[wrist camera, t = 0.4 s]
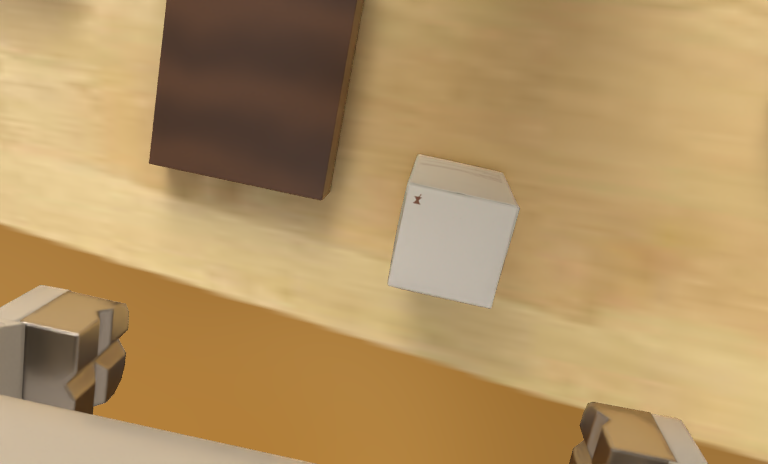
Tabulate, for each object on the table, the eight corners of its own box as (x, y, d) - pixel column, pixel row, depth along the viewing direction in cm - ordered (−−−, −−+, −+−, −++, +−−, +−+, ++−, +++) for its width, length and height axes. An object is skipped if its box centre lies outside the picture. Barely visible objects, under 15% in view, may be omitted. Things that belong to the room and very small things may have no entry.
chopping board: (195, -99, 54) (178, -110, 50) (375, -64, 53) (369, -72, 50) (166, 157, 59) (148, 163, 55) (329, 192, 58) (321, 200, 55)
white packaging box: (397, 238, 59) (381, 286, 46) (417, 151, 57) (406, 178, 44) (484, 258, 58) (491, 313, 46) (507, 172, 56) (521, 204, 44)
